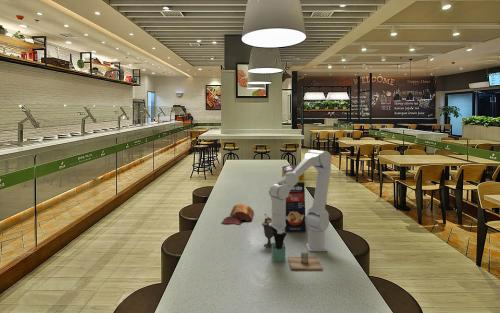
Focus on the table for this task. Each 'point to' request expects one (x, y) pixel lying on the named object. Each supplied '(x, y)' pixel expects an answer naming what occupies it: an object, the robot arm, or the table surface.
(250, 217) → the cured meat
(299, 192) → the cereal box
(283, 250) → the teal block
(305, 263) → the stand
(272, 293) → the table surface
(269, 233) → the sundae
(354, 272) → the table surface
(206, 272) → the table surface
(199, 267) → the table surface
